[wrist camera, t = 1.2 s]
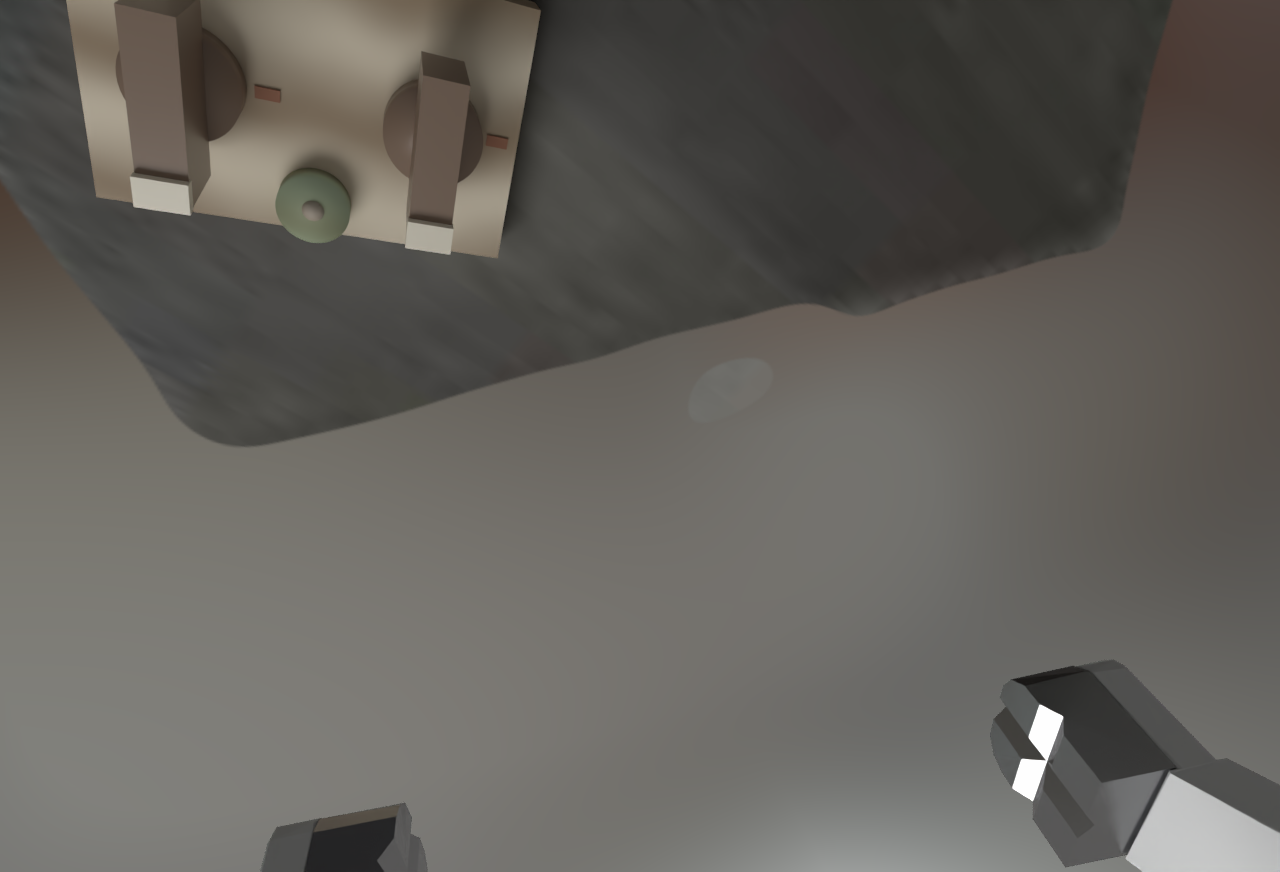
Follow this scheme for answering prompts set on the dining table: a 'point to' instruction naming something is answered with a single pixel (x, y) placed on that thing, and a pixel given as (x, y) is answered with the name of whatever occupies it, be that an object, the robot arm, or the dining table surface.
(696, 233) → the dining table surface
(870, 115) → the dining table surface
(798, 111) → the dining table surface
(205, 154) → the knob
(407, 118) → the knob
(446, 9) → the control panel
